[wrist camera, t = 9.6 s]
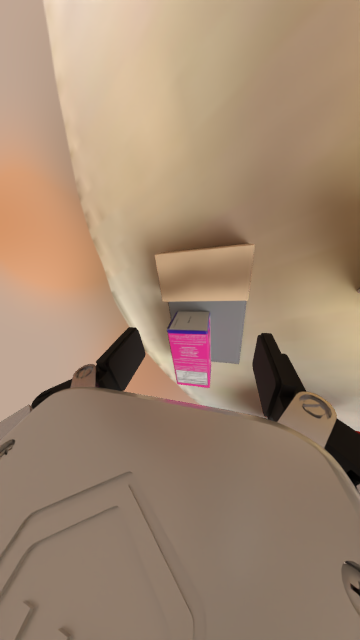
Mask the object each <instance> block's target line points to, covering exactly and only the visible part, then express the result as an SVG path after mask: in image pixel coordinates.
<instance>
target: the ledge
mask: <svg viewBox="0 0 360 640" xmlns="http://www.w3.org/2000/svg"><path fill="white" fill-rule="evenodd" d="M254 250H255V245H254V244H249V243H248V244H238V245H229V246H219V247H210V248H200V249H191V250H181V251H172V252H164V253H160V254H156V255H155V260H156V266H157V272H158V278H159V283H160V289H161V295H162V301H163V302H176V301H248V298H249V290H250V282H251V274H252V266H253V258H254Z"/></svg>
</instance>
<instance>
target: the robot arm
mask: <svg viewBox="0 0 360 640" xmlns="http://www.w3.org/2000/svg"><path fill="white" fill-rule="evenodd" d="M144 357H145V350H144V347H143V344H142V340H141V337H140V334H139V331H138V330H137V329H136V328H132V327H129V328H128V329H127V330H126V331H125V332H124V333H123V334H122V335H121V336H120V337H119V338H118V339H117V340H116V341H115V342H114V343H113V344H112V345H111V346H110V347H109V349H108V350H107V351H106V352H105V353H104V354H103V355H102V356H101V357H100V358H99V359H98V360H97V361H96V363H97V365H96V366H95V365H94V364H88V365H85V366H83V367H81V368H79V369H78V370H77V371H76V372H75V373H74V375H73V378H72V379H71V380H68V381H66V382H64V383H62V384H59V385H57V386H55V387H53V388H50V389H48V390H46V391H44V392H42V393H41V394H40V395H39V396H37V397H36V399H35V400H34V401H33V403H32V405H31V406H30V405H27V406H26V407H24V408H23V409H21V410H19V411H18V412H16V413H14V414H13V415H11V416H9V417H8V418H6V419H5V420H3V421H1V422H0V640H360V434H359V433H358V432H356V431H355V430H353V429H352V428H350V427H349V426H347V425H346V424H344V423H343V422H341V421H340V420H338V419H337V415H336V412H335V410H334V408H333V407H332V406H331V404H329V403H328V402H327V401H326V400H325V399H323V398H322V397H320V396H318V395H316V394H314V393H311V392H306V390H305V388H304V386H303V384H302V382H301V380H300V379H299V377H298V375H297V373H296V371H295V369H294V367H293V365H292V363H291V362H290V360H289V358H288V356H287V355H286V354H281V352H280V350H279V348H278V346H277V344H276V342H275V340H274V338H273V335H272V334H271V333H261V335H258V338H257V343H256V348H255V353H254V358H253V371H254V375H255V379H256V383H257V388H258V392H259V396H260V401H261V405H262V409H263V414H264V416H267V417H268V419H265V418H261V417H257V416H253V415H249V414H244V413H239V412H234V411H229V410H224V409H218V408H213V407H208V406H202V405H196V404H191V403H186V402H180V401H174V400H169V399H163V398H158V397H152V396H146V395H141V394H135V393H128V392H123V391H124V390H125V389H126V387H127V385H128V383H129V382H130V380H131V379H132V377H133V375H134V374H135V372H136V370H137V369H138V367H139V365H140V364H141V362H142V360H143V359H144ZM344 562H345V563H347V564H343V563H344Z"/></svg>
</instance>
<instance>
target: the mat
mask: <svg viewBox="0 0 360 640" xmlns="http://www.w3.org/2000/svg"><path fill="white" fill-rule="evenodd" d="M169 309H170V315H171V320H172V319H173V317H174V315H175V313H176V312H177V311H185V312H210V327H211V361H212V362H223V363H234V364H239V360H240V351H241V343H242V335H243V326H244V318H245V310H246V301H176V302H169Z"/></svg>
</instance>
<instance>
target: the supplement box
mask: <svg viewBox="0 0 360 640" xmlns="http://www.w3.org/2000/svg"><path fill="white" fill-rule="evenodd" d="M167 332H168V337H169V343H170V348H171V353H172V358H173V363H174V369H175V374H176V380H177V384H181V385H190V386H198V387H205V388H210V375H211V327H210V312H185V311H177V312H176V313H175V315H174V317H173V319H172V320H171V322H170V324H169V326H168V328H167Z"/></svg>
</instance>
